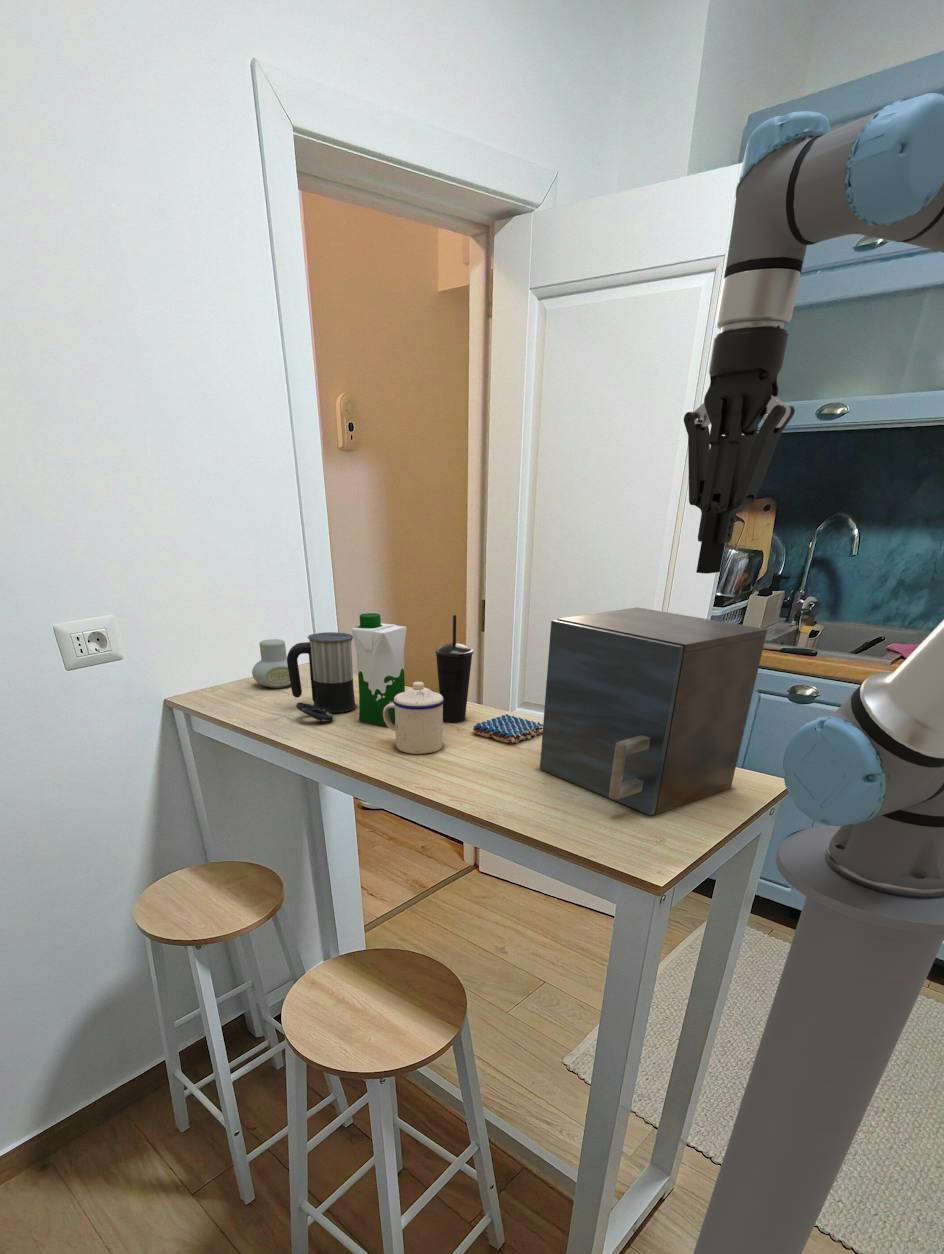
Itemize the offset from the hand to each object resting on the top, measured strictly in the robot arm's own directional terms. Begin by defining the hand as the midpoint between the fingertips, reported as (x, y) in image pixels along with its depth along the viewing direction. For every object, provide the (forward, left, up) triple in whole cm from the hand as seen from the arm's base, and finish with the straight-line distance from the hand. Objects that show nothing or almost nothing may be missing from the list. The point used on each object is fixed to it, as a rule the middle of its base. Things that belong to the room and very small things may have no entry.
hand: (708, 572), depth 88 cm
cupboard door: (+12, +6, -32) cm, 35 cm away
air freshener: (+103, +16, -33) cm, 109 cm away
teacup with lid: (+47, +14, -33) cm, 59 cm away
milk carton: (+64, +10, -33) cm, 73 cm away
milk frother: (+75, +17, -33) cm, 84 cm away
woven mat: (+42, -5, -33) cm, 53 cm away
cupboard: (+12, -7, -32) cm, 35 cm away
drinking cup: (+56, -2, -33) cm, 65 cm away
